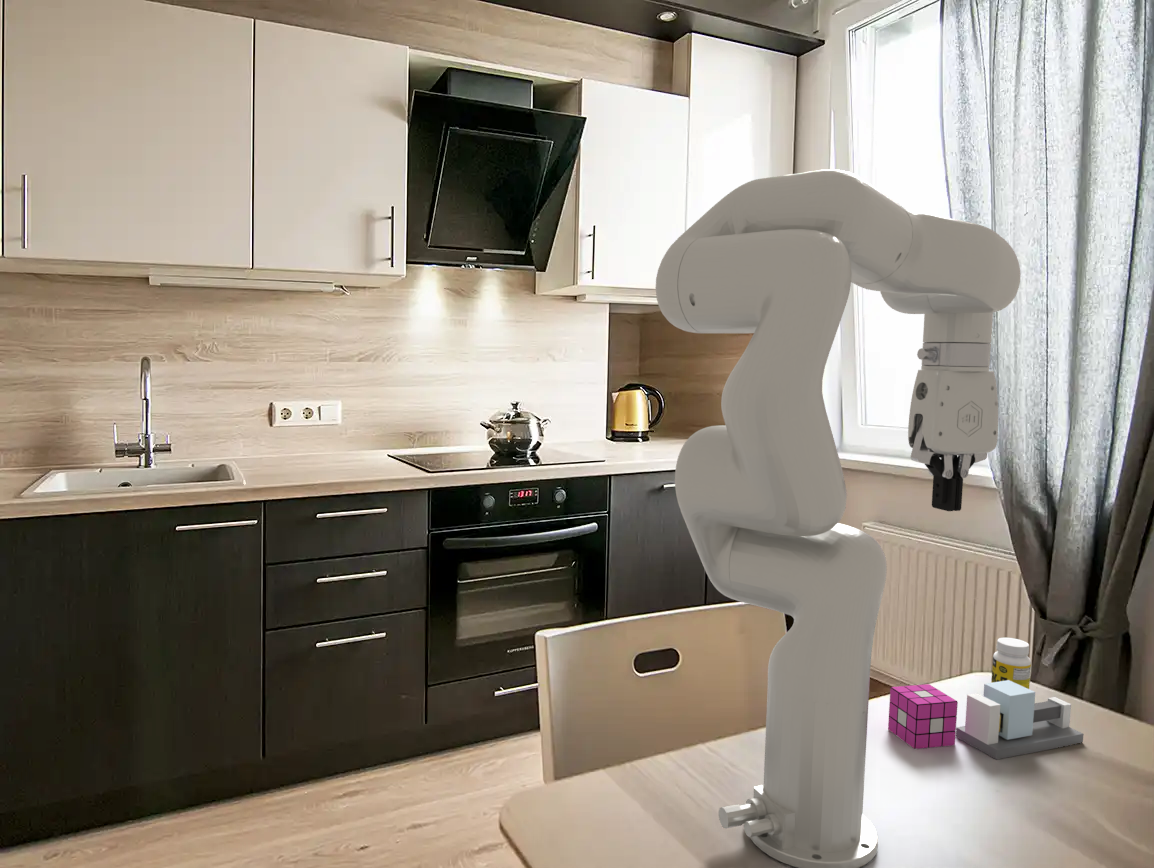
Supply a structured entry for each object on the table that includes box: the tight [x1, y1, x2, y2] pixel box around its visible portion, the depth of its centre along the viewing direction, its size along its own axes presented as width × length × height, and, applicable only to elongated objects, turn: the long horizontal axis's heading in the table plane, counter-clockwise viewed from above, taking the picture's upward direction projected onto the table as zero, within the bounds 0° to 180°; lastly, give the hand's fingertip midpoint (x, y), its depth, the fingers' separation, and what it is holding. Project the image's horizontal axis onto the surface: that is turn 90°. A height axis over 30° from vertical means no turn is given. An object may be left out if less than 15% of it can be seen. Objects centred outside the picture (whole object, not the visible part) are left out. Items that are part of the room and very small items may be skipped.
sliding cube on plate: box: [955, 692, 1084, 760], centre depth 108 cm, size 14×6×6 cm, turn 110°
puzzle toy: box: [887, 683, 958, 750], centre depth 108 cm, size 6×6×6 cm
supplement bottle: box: [990, 637, 1032, 689], centre depth 120 cm, size 5×5×8 cm
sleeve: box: [983, 680, 1036, 740], centre depth 107 cm, size 4×4×6 cm
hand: (946, 508), depth 105 cm, fingers closed
